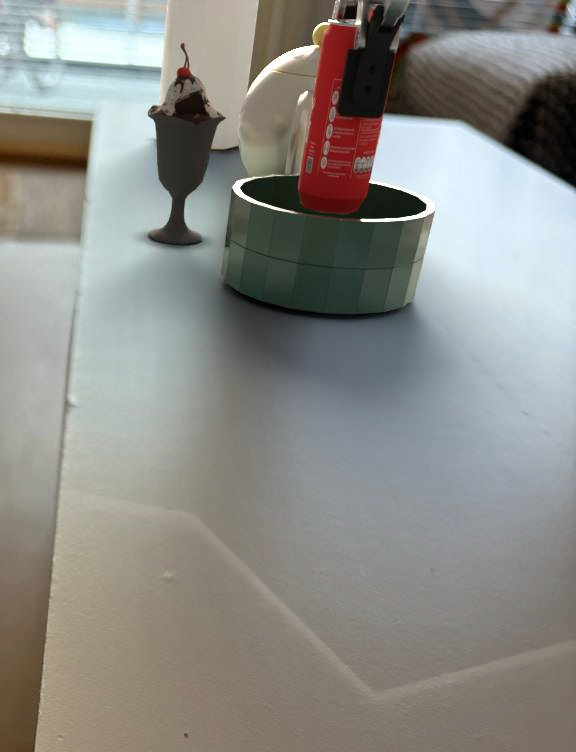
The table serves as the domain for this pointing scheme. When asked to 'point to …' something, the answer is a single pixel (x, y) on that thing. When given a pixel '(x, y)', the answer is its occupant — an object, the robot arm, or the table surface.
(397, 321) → the table surface
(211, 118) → the sundae
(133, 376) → the table surface
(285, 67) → the teapot
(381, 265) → the green planter pot
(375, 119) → the beverage can
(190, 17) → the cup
